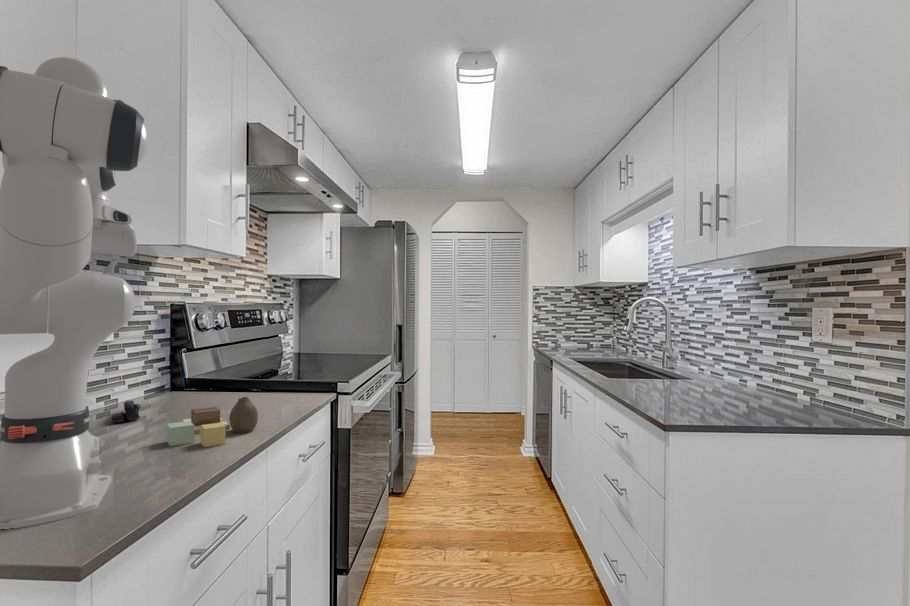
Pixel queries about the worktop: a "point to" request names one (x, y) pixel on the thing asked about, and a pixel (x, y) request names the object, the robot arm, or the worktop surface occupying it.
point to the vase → (243, 416)
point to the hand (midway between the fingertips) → (85, 273)
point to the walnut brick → (205, 415)
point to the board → (198, 428)
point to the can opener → (127, 412)
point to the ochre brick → (213, 434)
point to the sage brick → (180, 433)
